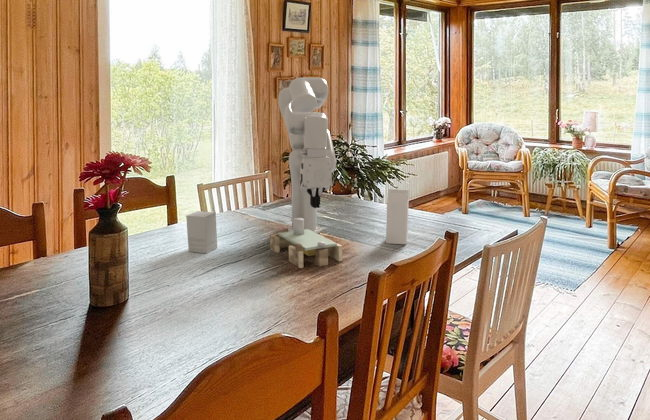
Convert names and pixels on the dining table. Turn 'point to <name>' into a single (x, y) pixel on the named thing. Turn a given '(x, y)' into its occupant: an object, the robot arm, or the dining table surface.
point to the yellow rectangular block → (309, 252)
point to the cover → (306, 237)
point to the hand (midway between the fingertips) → (315, 206)
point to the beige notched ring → (297, 252)
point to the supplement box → (201, 231)
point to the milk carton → (397, 216)
